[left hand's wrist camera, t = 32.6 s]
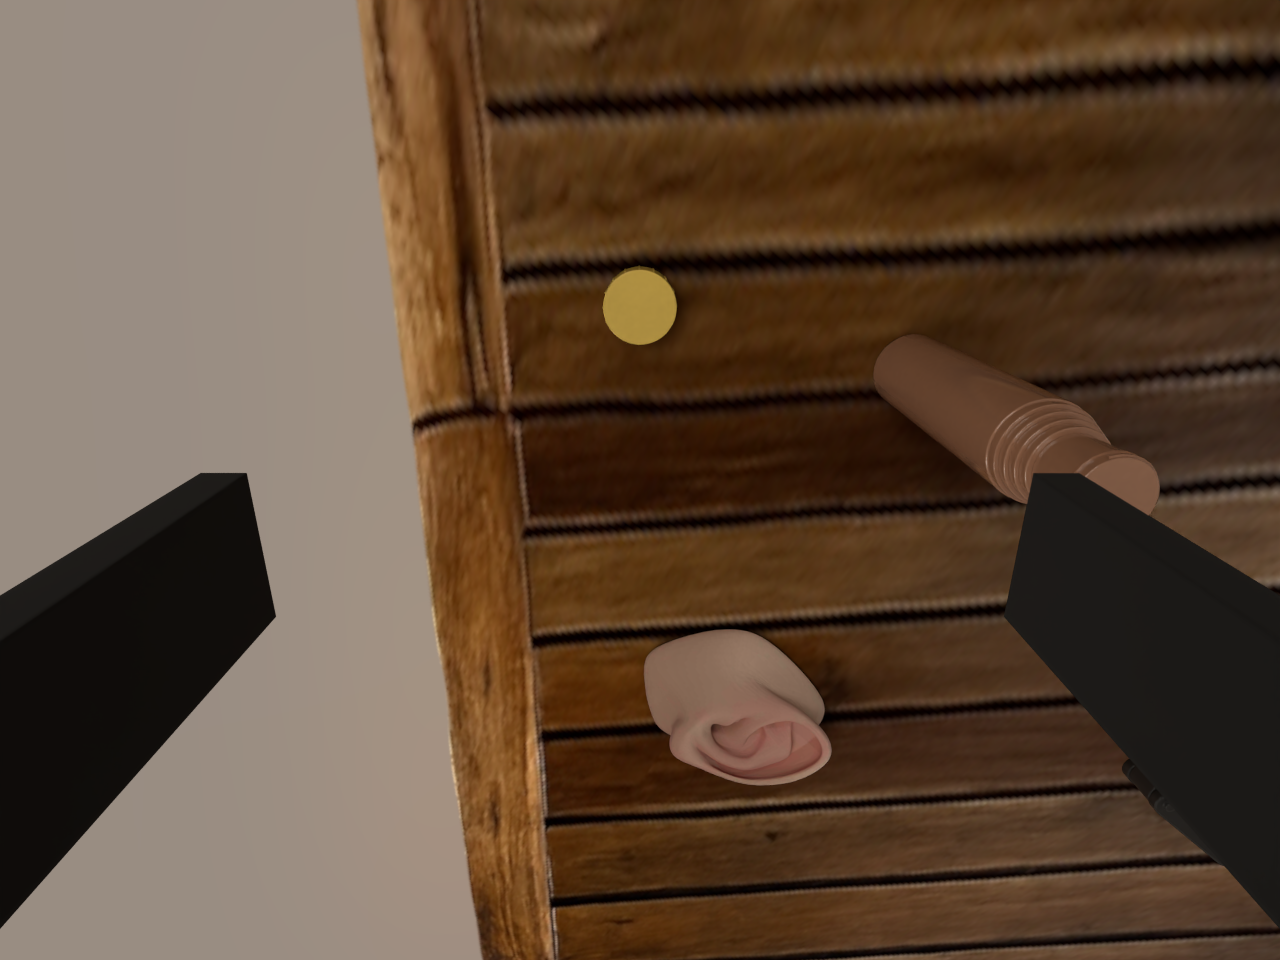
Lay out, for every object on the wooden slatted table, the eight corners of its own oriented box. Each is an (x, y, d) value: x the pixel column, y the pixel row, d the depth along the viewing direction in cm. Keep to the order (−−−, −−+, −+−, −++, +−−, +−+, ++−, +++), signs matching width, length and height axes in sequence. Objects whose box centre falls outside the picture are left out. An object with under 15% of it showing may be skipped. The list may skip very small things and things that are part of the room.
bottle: (948, 399, 46) (1178, 544, 26) (876, 412, 46) (1049, 566, 27) (945, 327, 44) (1187, 424, 25) (870, 342, 45) (1050, 449, 25)
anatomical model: (613, 704, 49) (761, 624, 47) (615, 669, 53) (752, 593, 51) (713, 830, 53) (854, 762, 51) (708, 789, 57) (840, 724, 55)
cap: (689, 291, 44) (691, 296, 41) (650, 351, 45) (650, 359, 43) (629, 251, 43) (628, 254, 40) (591, 313, 44) (588, 319, 42)
